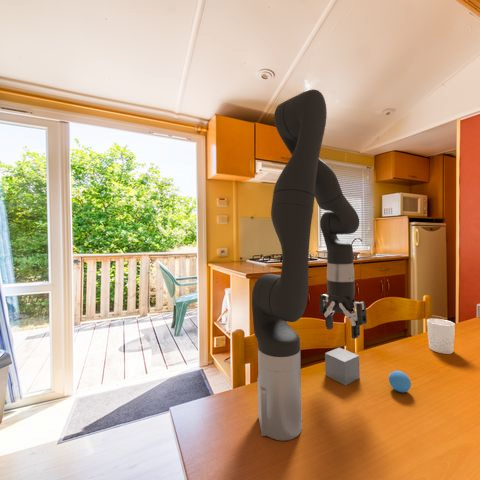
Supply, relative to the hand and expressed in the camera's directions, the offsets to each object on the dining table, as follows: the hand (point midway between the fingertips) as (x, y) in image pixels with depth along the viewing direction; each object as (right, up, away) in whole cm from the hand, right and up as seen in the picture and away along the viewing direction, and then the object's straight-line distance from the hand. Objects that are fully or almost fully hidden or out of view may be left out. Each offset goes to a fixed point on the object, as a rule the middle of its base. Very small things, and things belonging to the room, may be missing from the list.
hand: (342, 333), depth 76 cm
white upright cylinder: (+41, -12, +16) cm, 46 cm away
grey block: (0, -13, 0) cm, 13 cm away
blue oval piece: (+12, -10, -7) cm, 18 cm away
